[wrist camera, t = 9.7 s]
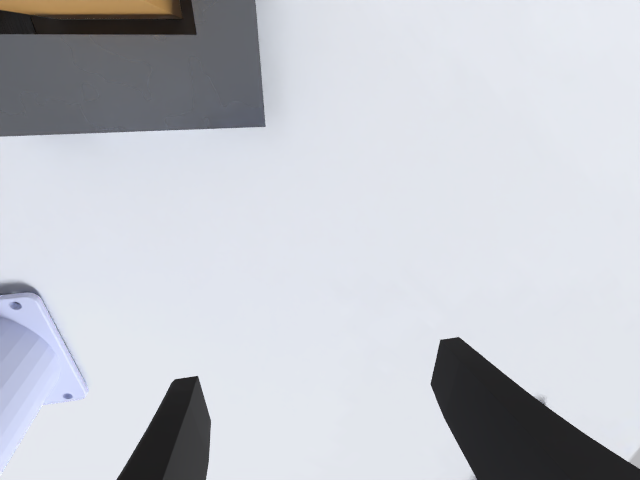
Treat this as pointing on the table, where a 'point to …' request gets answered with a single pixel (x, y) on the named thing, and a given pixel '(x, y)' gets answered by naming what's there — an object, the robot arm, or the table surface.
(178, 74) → the square hole plate
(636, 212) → the table surface
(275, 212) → the table surface
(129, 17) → the square block
